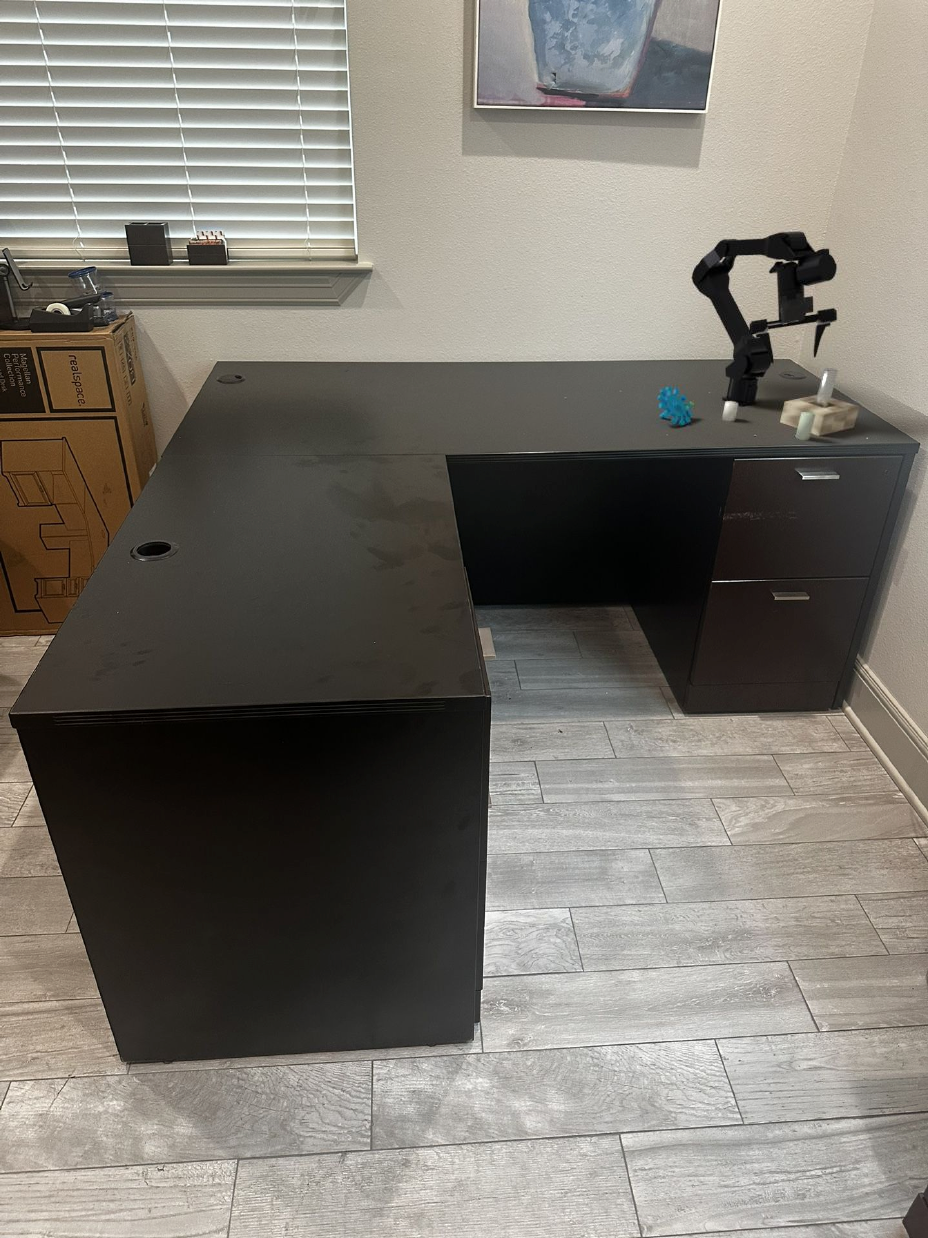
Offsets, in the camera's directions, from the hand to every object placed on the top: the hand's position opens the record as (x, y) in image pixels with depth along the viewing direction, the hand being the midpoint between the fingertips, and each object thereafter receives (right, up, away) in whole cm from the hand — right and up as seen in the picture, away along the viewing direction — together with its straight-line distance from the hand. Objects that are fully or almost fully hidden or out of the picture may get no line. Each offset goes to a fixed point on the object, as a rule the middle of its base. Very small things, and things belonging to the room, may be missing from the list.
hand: (793, 360), depth 195 cm
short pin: (-14, -13, +4) cm, 19 cm away
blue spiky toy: (-28, -14, +2) cm, 31 cm away
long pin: (+7, -14, +3) cm, 16 cm away
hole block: (+7, -14, +3) cm, 16 cm away
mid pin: (0, -19, -6) cm, 20 cm away
